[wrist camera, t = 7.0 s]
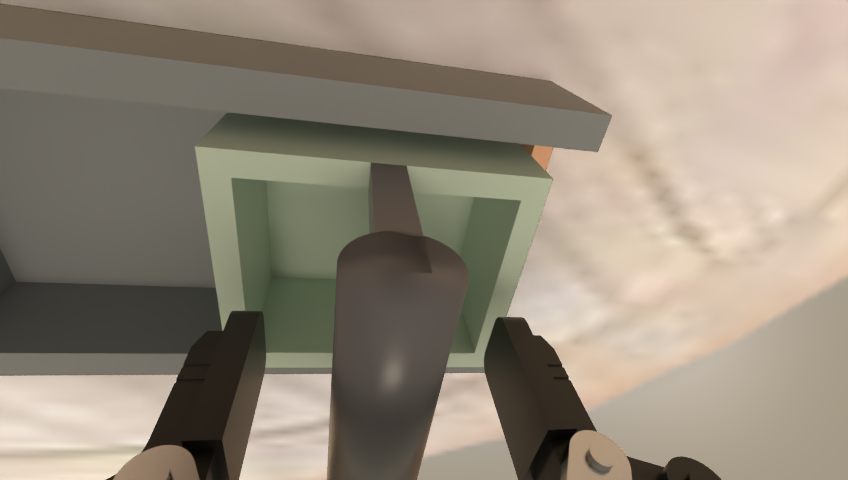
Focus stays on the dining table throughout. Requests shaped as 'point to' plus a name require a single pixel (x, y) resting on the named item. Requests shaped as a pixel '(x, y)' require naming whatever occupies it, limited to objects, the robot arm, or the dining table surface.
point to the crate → (368, 263)
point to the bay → (184, 169)
